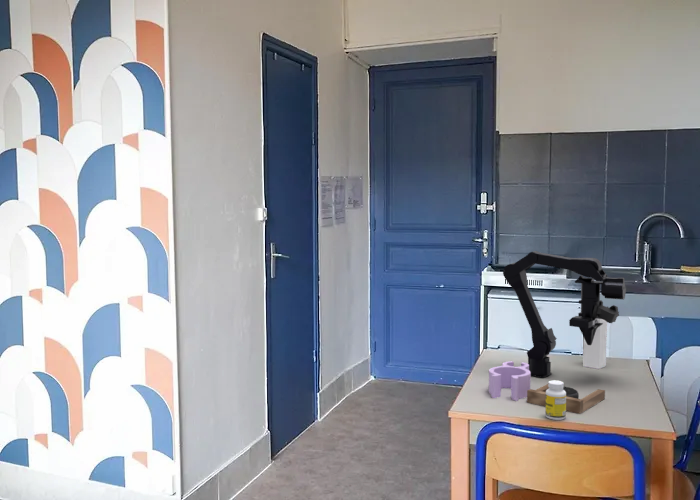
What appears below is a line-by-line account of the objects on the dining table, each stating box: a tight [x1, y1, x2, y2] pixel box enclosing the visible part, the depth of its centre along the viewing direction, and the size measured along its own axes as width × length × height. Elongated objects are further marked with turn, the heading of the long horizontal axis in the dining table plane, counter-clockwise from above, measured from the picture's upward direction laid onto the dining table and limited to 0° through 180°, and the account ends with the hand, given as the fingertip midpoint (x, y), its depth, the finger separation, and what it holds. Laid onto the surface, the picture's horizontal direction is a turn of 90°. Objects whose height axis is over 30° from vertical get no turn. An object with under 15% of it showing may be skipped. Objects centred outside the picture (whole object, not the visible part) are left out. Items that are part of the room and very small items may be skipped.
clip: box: [488, 360, 531, 402], centre depth 210 cm, size 20×12×7 cm, turn 155°
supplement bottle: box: [544, 379, 567, 421], centre depth 184 cm, size 5×5×10 cm
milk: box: [582, 319, 608, 370], centre depth 237 cm, size 6×6×22 cm
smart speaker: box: [563, 386, 580, 399], centre depth 197 cm, size 9×9×4 cm
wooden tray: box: [526, 383, 606, 415], centre depth 199 cm, size 16×18×4 cm
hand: (589, 345), depth 218 cm, fingers closed
